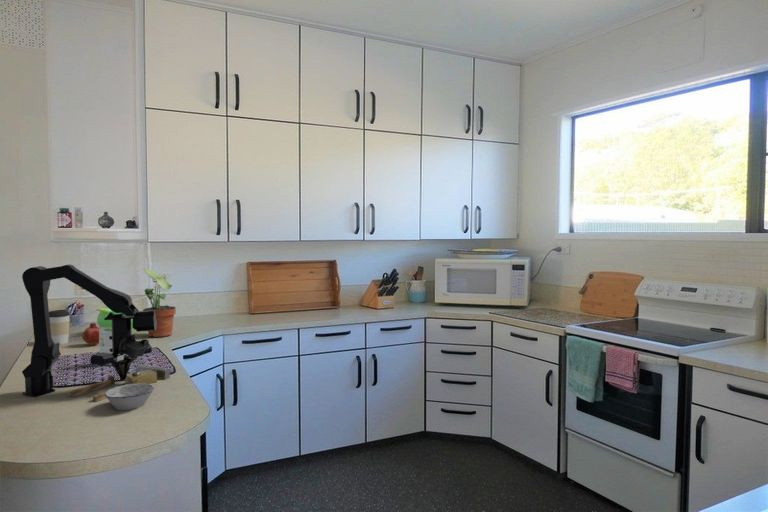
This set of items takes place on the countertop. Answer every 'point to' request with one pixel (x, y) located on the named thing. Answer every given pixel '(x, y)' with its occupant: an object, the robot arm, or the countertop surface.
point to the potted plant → (160, 307)
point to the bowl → (129, 395)
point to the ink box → (105, 340)
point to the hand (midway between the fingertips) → (123, 379)
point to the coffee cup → (59, 326)
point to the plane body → (96, 386)
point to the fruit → (91, 334)
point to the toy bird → (106, 323)
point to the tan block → (142, 377)
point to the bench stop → (161, 372)
